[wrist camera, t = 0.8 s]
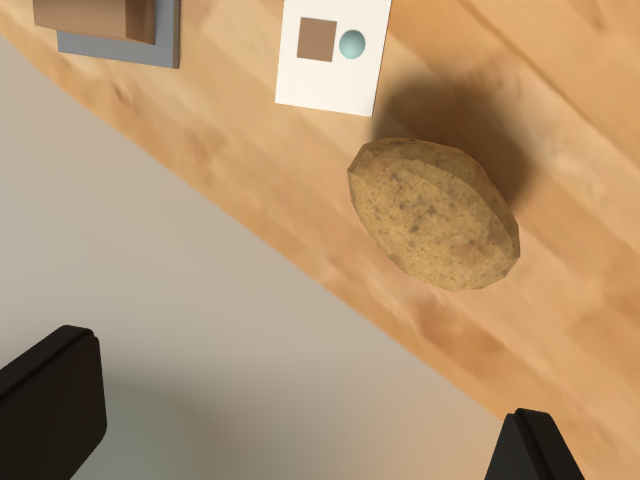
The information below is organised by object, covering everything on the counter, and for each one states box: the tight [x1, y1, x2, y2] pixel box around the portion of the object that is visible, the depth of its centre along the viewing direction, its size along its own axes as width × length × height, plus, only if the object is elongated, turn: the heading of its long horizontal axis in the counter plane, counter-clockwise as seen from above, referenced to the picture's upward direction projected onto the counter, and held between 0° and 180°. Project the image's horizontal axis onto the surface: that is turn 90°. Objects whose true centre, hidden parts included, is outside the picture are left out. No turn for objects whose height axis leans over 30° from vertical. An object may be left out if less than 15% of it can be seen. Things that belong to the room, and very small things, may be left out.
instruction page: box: [275, 0, 391, 117], centre depth 31 cm, size 10×8×1 cm
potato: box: [347, 137, 520, 292], centre depth 31 cm, size 10×14×8 cm
